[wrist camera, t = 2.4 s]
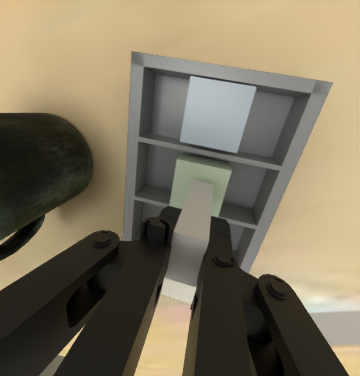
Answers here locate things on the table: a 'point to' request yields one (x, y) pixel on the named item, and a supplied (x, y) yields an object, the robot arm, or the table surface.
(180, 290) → the key ivory
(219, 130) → the key slate
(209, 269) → the robot arm
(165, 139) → the grey compartment rack
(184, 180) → the key sage
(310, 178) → the table surface
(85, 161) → the mug
